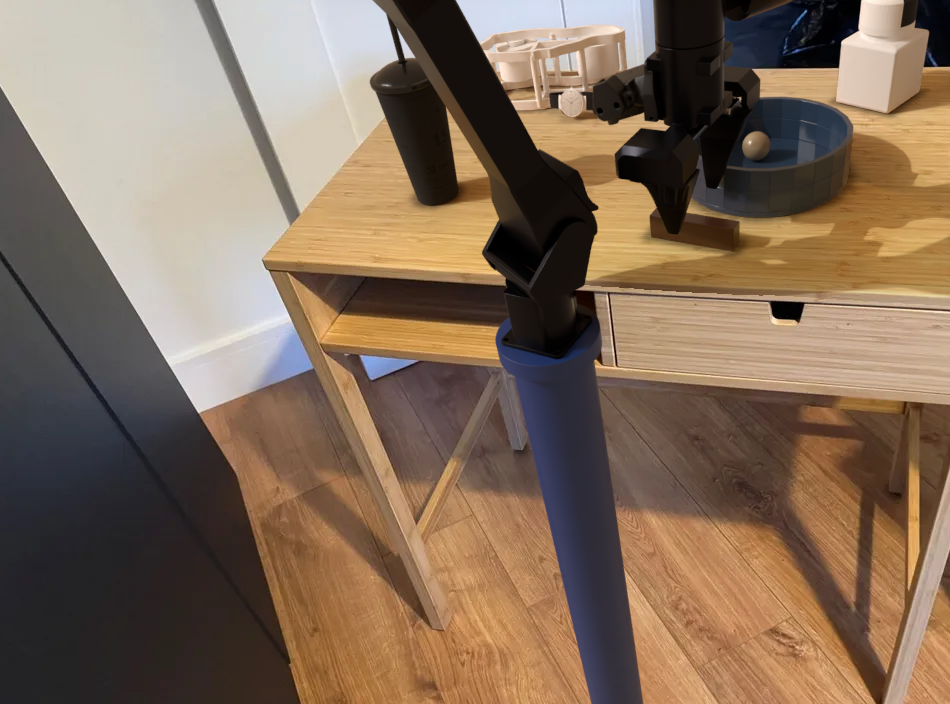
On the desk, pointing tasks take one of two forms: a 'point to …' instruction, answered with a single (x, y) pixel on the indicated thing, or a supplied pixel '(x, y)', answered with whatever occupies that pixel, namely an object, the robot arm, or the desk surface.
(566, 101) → the watch
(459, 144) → the desk surface
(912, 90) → the medicine bottle
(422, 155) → the drinking cup
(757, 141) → the bead
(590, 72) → the skeletal toy car
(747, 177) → the bowl
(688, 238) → the brown rectangular block
